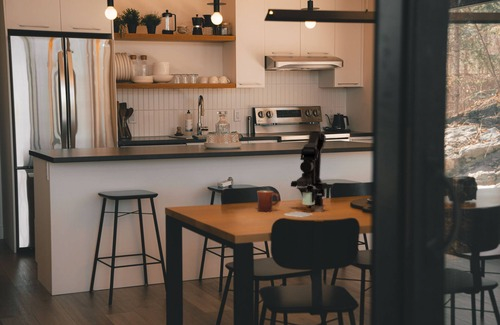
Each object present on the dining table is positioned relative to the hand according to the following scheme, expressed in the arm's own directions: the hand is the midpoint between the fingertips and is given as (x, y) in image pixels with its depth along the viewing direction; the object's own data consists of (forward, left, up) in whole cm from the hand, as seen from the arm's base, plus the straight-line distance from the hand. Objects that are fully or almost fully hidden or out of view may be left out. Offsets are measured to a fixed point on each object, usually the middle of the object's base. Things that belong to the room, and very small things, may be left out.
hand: (308, 201), depth 359 cm
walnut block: (0, +9, -6) cm, 11 cm away
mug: (-19, -9, -6) cm, 22 cm away
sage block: (0, 0, -1) cm, 1 cm away
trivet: (0, -9, -6) cm, 11 cm away
